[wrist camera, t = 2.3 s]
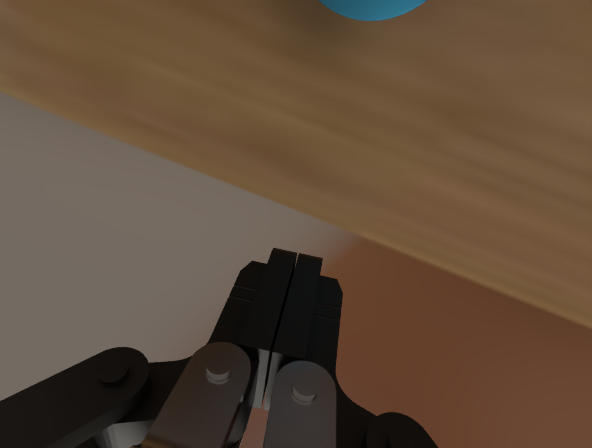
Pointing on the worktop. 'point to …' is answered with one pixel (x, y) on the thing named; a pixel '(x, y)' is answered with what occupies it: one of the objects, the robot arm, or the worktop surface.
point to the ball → (371, 8)
